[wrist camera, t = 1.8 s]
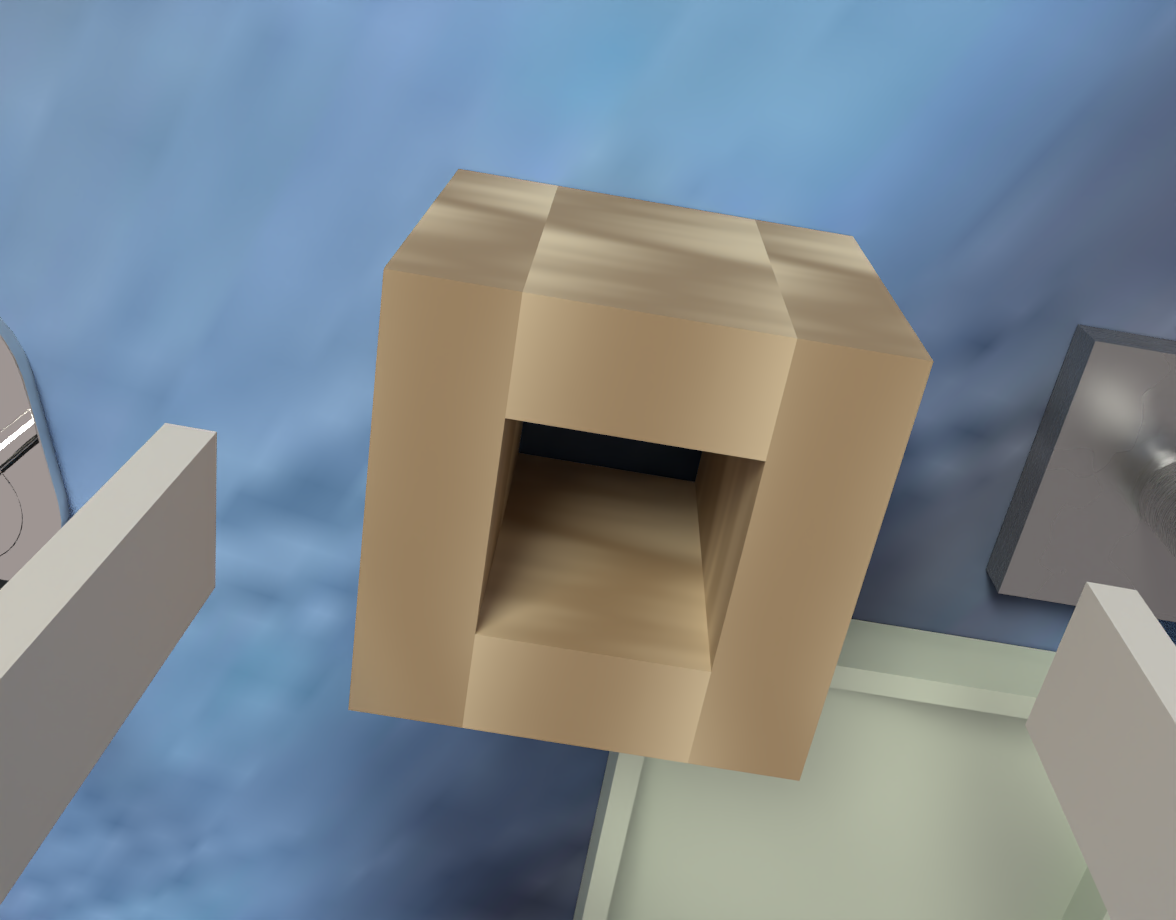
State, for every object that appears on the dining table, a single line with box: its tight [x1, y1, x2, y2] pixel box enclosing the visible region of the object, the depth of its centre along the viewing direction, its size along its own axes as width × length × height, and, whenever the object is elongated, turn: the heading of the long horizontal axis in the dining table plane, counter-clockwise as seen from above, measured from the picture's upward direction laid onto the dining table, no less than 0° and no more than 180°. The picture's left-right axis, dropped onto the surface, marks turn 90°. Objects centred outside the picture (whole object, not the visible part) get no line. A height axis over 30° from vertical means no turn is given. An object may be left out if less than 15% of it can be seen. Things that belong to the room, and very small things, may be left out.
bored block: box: [349, 169, 933, 781], centre depth 21 cm, size 8×8×7 cm
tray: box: [573, 619, 1111, 920], centre depth 28 cm, size 13×13×2 cm
